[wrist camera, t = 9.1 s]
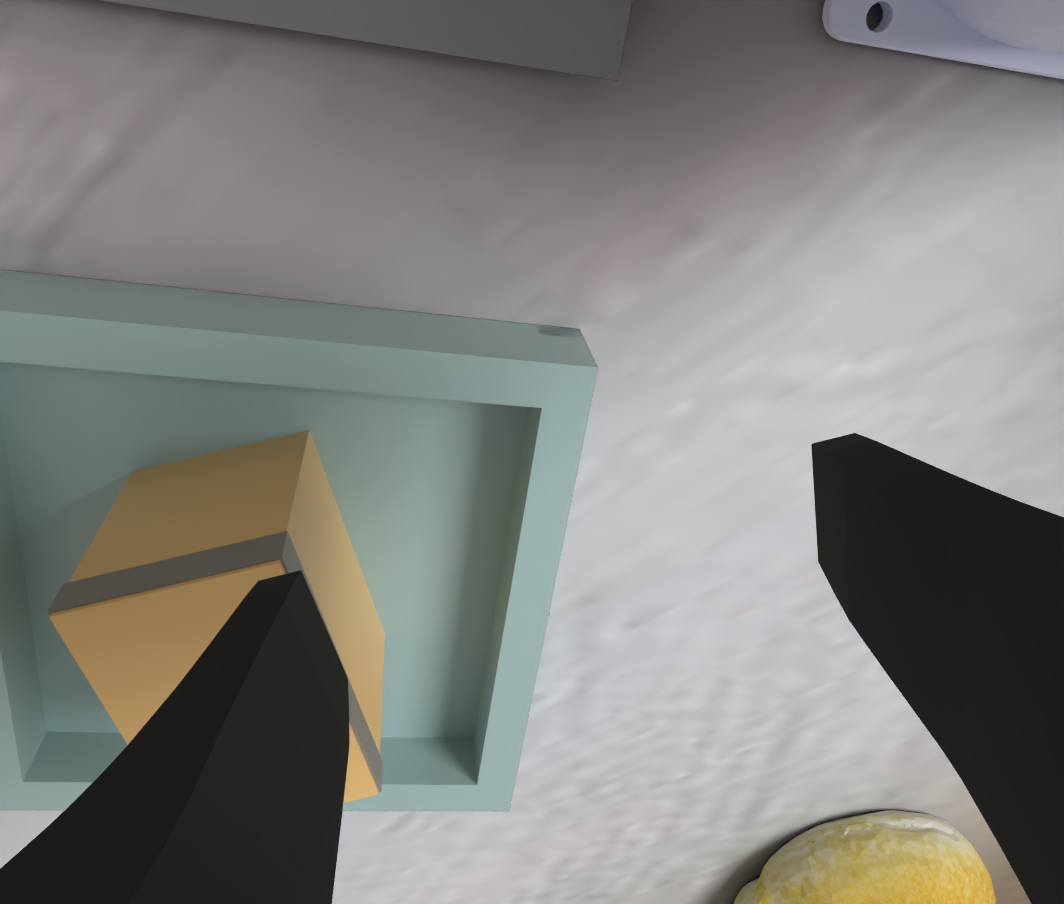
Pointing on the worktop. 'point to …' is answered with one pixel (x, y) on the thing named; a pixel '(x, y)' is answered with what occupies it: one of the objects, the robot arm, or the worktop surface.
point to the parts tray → (354, 477)
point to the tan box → (219, 582)
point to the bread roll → (874, 865)
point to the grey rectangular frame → (449, 27)
